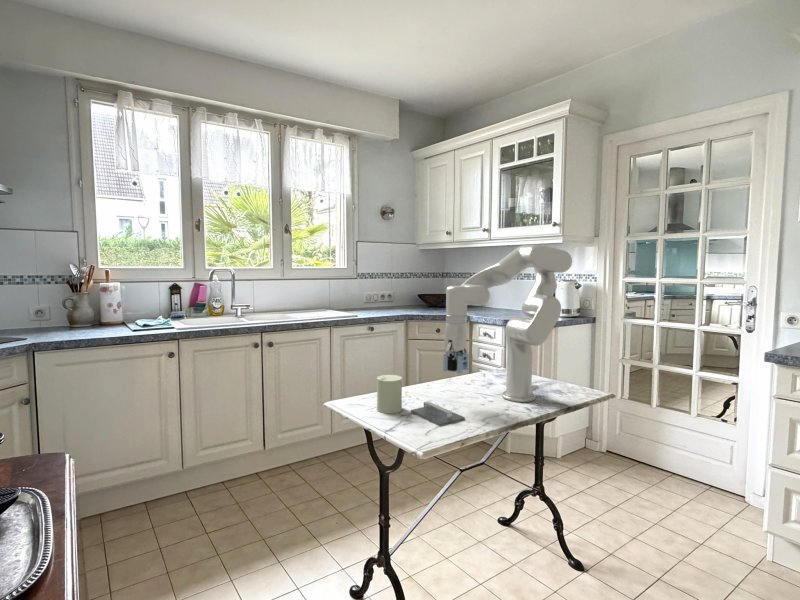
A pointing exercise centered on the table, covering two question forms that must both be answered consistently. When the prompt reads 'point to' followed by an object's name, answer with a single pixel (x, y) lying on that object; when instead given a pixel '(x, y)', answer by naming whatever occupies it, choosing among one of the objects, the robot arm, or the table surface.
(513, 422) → the table surface
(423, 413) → the rail
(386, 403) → the can
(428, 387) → the table surface
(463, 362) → the blue-grey slotted block
